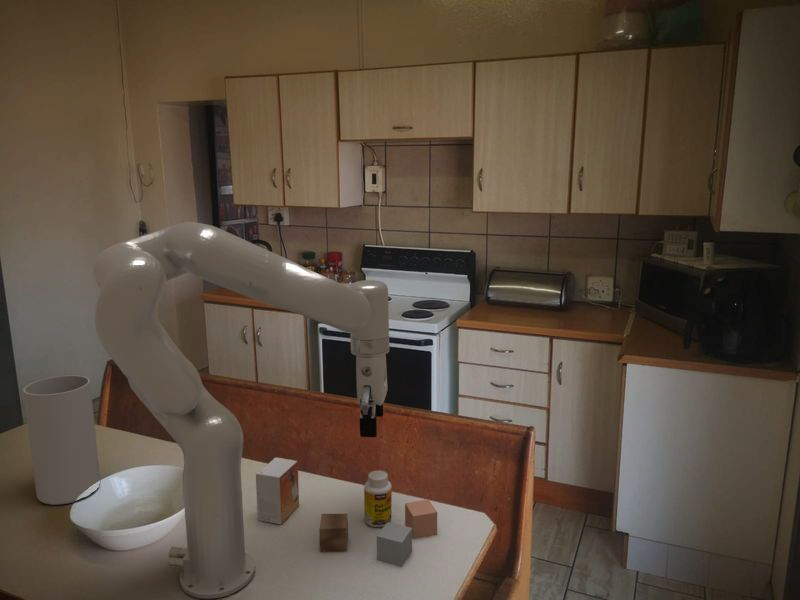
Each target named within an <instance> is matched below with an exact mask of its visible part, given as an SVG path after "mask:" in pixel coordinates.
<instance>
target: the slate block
mask: <svg viewBox="0 0 800 600" xmlns="http://www.w3.org/2000/svg"><path fill="white" fill-rule="evenodd" d="M412 553H413V538H412V528H411V527H406V526H405V525H402V524H397V523H393V522H391V521H390V522H387V524H386V525H385V526H383V527H382V528H381V530H380V531H379V532H378V534H377V535H376V561H378V562H381V563H382V562H383V563H386V564H389V565H394V566H397V567H400V568H403V566H404V565H405V563H406V561H407V560H408V558H409V557H410V555H411V554H412Z"/></svg>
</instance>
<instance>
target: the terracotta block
mask: <svg viewBox="0 0 800 600" xmlns="http://www.w3.org/2000/svg"><path fill="white" fill-rule="evenodd" d="M404 505H405V506H404V526H406V527H411V528H412V540H417V539H421V538H426V537H427V538H428V537H433V536H437V535H438V511H437V510H436V508H435V506H434V505H433V503H432V502H431V500H429V499H422V500H421V499H420V500H417V501H410V502H405V504H404Z"/></svg>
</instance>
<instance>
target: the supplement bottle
mask: <svg viewBox="0 0 800 600" xmlns="http://www.w3.org/2000/svg"><path fill="white" fill-rule="evenodd" d="M388 475H389V474H388V473H387V472H386V471H384V470H373V471H370V472H369V473H368V475H367V481H366V482H365V483H364V486H363V487H364V488H363V491H364V492H363V496H364V501H363V503H364V505H363V508H364V511H363V512H364V513H363V514H364V516H363V517H364V522H365V524H366V525H368V526H370V527H372V528H373V527H374V528H383V527H384V526H385V525H386V524H387V522H390V523H391V520H392V496H393V495H392V494H393V493H392V491H393V490H392V483H391V481H389V476H388Z"/></svg>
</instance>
